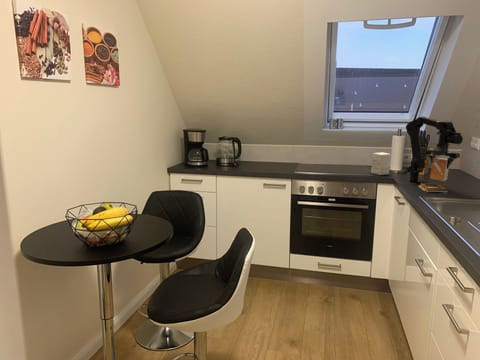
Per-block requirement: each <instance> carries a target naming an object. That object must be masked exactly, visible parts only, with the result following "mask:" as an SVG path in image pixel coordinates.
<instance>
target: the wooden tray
mask: <svg viewBox="0 0 480 360" xmlns="http://www.w3.org/2000/svg"><path fill="white" fill-rule="evenodd" d="M418 188H420V190H422V191H424V192H425V191H426V192H425V193H427V192H448V190H447V188H446V187H444V186H442V185H441V184H440V183H425V182H424V183H422V182H420V184H419V185H418Z"/></svg>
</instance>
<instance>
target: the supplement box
mask: <svg viewBox="0 0 480 360" xmlns="http://www.w3.org/2000/svg"><path fill="white" fill-rule="evenodd" d="M391 156H392V155H391V153H387V152H383V151H382V152H372V159H371V170H370V171H371V172H370V173H371V174H375V175H378V176H383V175H389V174H390V166H391V165H390V164H391Z"/></svg>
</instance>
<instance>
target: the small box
mask: <svg viewBox="0 0 480 360" xmlns="http://www.w3.org/2000/svg"><path fill="white" fill-rule="evenodd" d="M447 163H448V158H443V157H436V158H433V162H431V169H430V177H429V179H430V180H436V181H441V182H444V181H447V180H448V175H449V168H450V167H449V168H448V169H447Z"/></svg>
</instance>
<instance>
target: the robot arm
mask: <svg viewBox="0 0 480 360" xmlns="http://www.w3.org/2000/svg"><path fill="white" fill-rule="evenodd" d="M424 125H426V126H431V127H434V128H435V129H436V130H438V132H436V133H435V134H436V135H439V136H438V141H437V144H436V145H435V146H436V147H434V148H431V149H430V148H429V149H425V151H424V155H426V156H427V157H428V158H429V159H430V161H431V163H432V162H433V158H437V156H438V157H439V156H444V157H445V156H446V157H447V159H448V163H447V169H448V168H450V166H451V164H453V162H454V161H455V160H456V159H460V158H461V153H459V152H456V151H455V152H452V151H451V152H449V147H450V145H451V144H453V145H458V146H459V145H460V144H462V143H463V140H464V139H463V135H462V132H457V131H456V129H455V126H454V124H453V121H447V120H446V121H444V120H441V121H440V120H437V119H433V118H429V117H426V116H419V117H417V118H416V119H414V120H411V121H410V122H408V123H406V125H405V130H406V133H407V135H408V136H409V139H410V148H411V154H412V158H411V160H410V165H409V167H407V168H406V172H407V173H409V178H407V181H408V182H410V183H421V181H420V180H419V179H420V173H423V172H424V170H425V169H426V168H425V167H426V165H427V164H426V159H425V158H423V157H422V155H421V149H420V148H421V146H420V139H419V134H420V133H421V128H422V127H423V126H424Z"/></svg>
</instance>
